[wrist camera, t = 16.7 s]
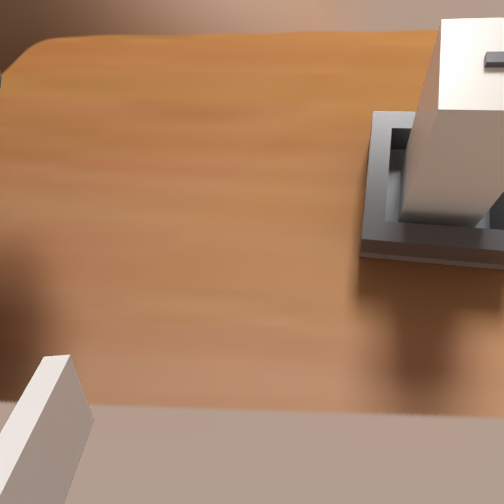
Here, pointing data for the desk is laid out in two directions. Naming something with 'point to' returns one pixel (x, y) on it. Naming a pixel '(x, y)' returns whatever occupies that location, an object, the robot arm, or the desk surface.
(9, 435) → the robot arm
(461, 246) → the socket dock
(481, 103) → the block
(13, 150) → the desk surface
